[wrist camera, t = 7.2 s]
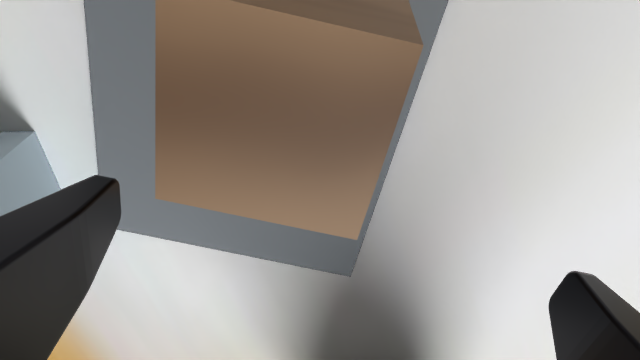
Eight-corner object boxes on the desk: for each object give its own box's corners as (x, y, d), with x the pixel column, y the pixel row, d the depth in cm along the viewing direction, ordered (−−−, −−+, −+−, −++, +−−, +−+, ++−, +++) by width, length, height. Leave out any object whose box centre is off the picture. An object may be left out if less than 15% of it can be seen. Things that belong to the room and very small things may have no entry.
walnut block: (358, 139, 16) (356, 239, 11) (210, 107, 15) (155, 198, 11) (403, -15, 13) (423, 44, 9) (223, -59, 12) (156, -17, 8)
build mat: (350, 271, 27) (350, 276, 26) (105, 221, 26) (102, 226, 26) (473, -77, 16) (475, -76, 16) (75, -177, 16) (68, -178, 15)
